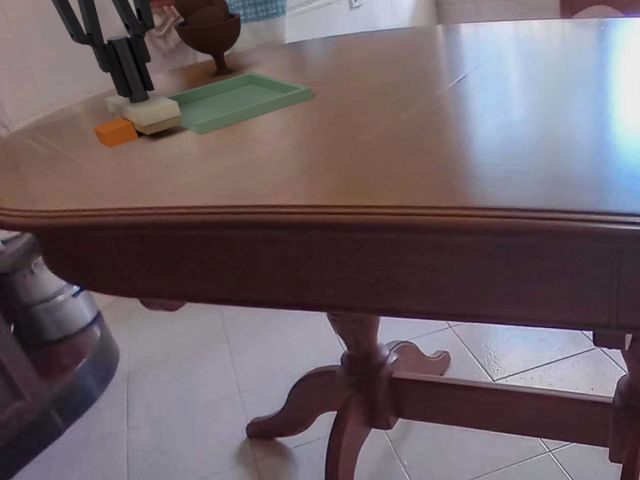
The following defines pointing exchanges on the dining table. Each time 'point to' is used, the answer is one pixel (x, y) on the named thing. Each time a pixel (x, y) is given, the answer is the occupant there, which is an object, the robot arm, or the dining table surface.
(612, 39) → the dining table surface
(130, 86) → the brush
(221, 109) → the tray
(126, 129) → the eraser
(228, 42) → the ice cream bowl
